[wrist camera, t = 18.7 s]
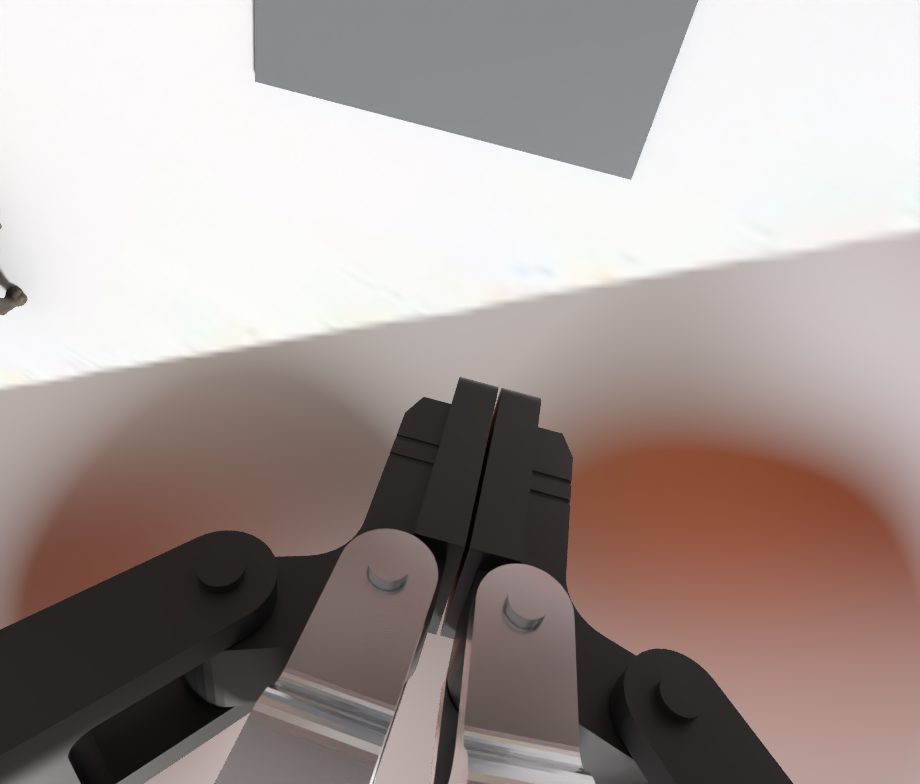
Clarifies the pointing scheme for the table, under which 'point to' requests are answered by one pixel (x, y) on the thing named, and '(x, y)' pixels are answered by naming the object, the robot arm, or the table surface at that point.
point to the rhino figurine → (12, 299)
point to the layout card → (487, 67)
